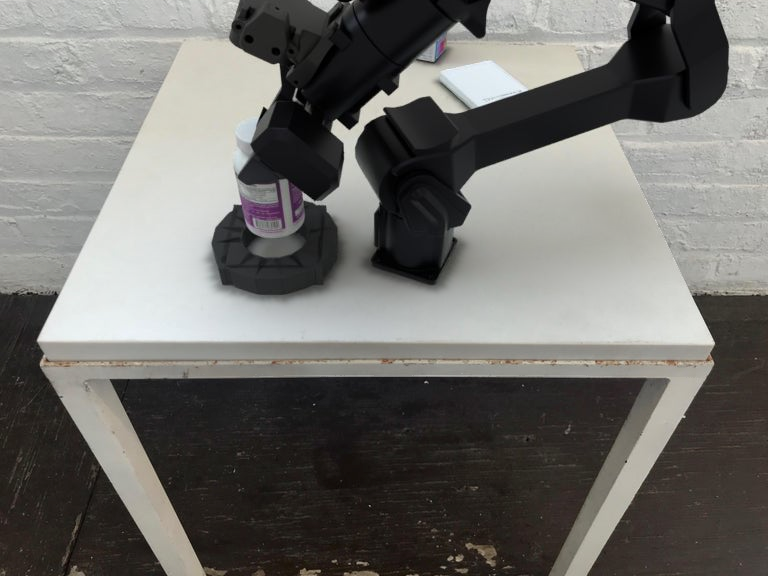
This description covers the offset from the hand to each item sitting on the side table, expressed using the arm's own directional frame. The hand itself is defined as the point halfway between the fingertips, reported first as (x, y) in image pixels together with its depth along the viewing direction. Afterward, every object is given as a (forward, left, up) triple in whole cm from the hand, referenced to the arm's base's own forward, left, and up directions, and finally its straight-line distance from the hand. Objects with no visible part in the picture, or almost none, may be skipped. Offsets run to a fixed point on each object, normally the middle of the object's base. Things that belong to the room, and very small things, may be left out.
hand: (249, 160), depth 52 cm
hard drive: (-11, -37, -10) cm, 40 cm away
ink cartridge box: (+3, -45, -10) cm, 47 cm away
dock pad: (-1, 0, -10) cm, 10 cm away
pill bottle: (-1, -1, -7) cm, 7 cm away
